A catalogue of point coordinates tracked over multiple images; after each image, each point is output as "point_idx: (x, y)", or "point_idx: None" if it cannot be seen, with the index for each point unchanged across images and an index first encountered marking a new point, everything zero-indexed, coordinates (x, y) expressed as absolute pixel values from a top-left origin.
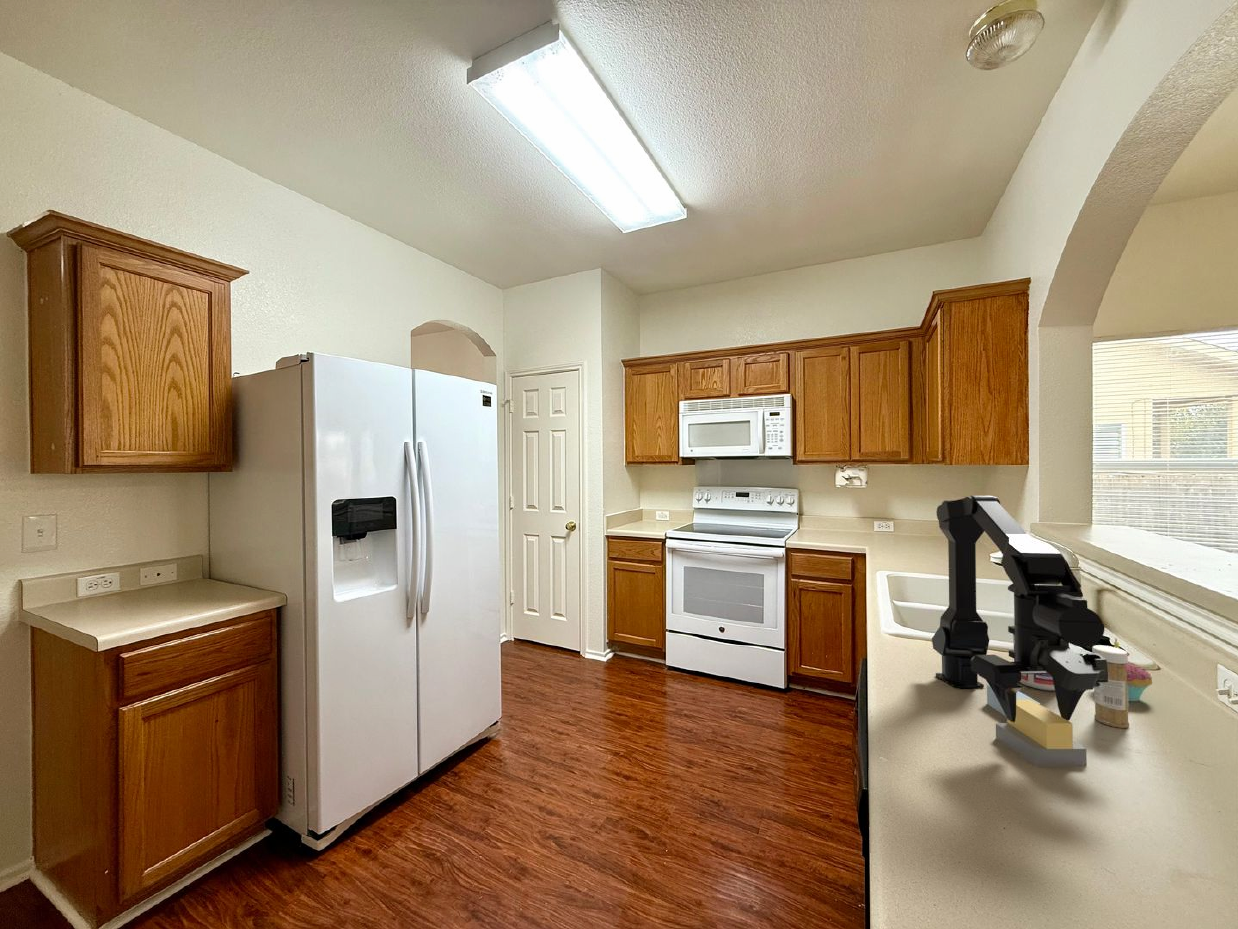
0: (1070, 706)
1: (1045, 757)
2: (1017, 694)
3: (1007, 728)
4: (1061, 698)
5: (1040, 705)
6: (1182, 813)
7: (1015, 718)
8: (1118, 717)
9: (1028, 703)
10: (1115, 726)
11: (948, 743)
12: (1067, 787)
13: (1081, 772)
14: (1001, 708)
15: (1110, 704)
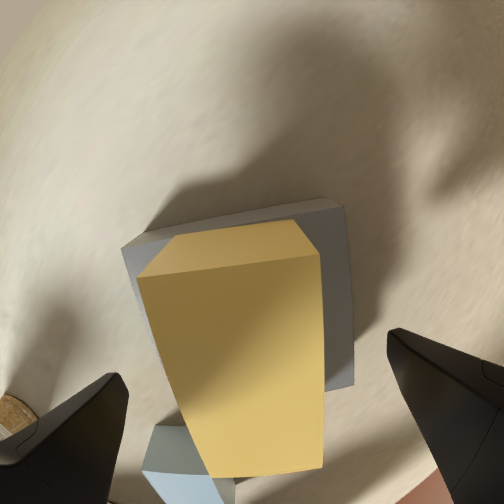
0: (77, 412)
1: (298, 207)
2: (181, 500)
3: (339, 361)
4: (96, 460)
5: (198, 445)
6: (70, 34)
7: (398, 336)
8: (4, 411)
9: (246, 456)
10: (18, 400)
11: (480, 296)
12: (305, 81)
13: (190, 180)
14: None
15: (2, 434)
